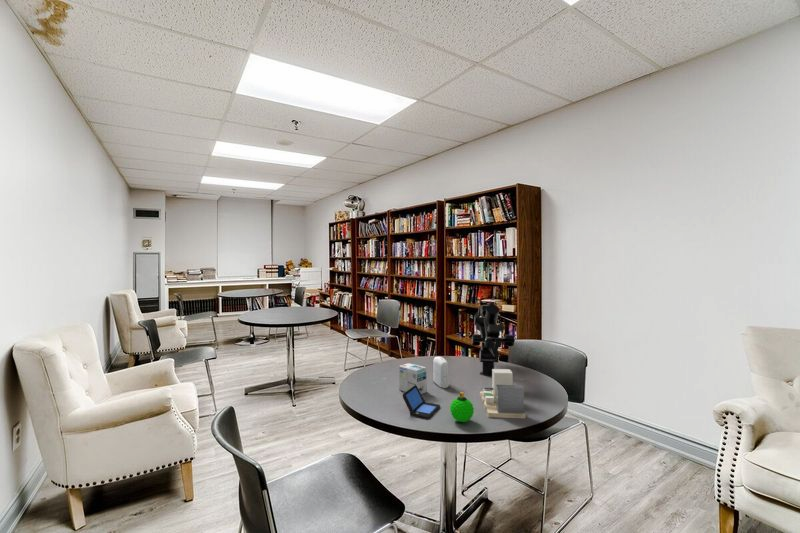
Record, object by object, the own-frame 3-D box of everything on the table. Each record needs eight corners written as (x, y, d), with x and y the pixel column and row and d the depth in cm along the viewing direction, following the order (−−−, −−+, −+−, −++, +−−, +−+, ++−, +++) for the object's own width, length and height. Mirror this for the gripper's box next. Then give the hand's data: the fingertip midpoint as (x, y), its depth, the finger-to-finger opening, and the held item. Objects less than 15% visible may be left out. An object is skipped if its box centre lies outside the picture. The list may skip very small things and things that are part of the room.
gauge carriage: (484, 393, 146) (483, 368, 146) (509, 393, 145) (509, 369, 145) (486, 400, 138) (486, 374, 138) (514, 401, 137) (514, 375, 137)
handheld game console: (429, 420, 126) (429, 399, 126) (401, 415, 131) (401, 394, 130) (441, 407, 137) (441, 388, 137) (415, 402, 142) (415, 384, 142)
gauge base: (480, 394, 149) (479, 385, 149) (511, 395, 148) (511, 386, 148) (488, 417, 128) (488, 406, 127) (525, 418, 126) (525, 407, 126)
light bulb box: (427, 392, 153) (427, 367, 153) (417, 396, 148) (417, 370, 148) (408, 386, 160) (408, 362, 160) (398, 390, 155) (398, 365, 155)
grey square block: (496, 409, 131) (496, 384, 131) (521, 410, 130) (521, 385, 130) (498, 412, 128) (497, 387, 128) (523, 413, 127) (523, 388, 127)
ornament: (445, 422, 124) (445, 393, 124) (457, 414, 130) (457, 387, 130) (466, 428, 119) (466, 398, 119) (478, 420, 125) (478, 392, 125)
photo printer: (450, 387, 158) (449, 359, 158) (441, 388, 156) (440, 360, 156) (440, 380, 167) (440, 354, 167) (432, 381, 166) (432, 355, 166)
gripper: (472, 316, 164) (475, 346, 153) (514, 317, 162) (520, 347, 151) (470, 330, 172) (473, 359, 161) (510, 331, 170) (515, 360, 159)
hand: (495, 356), depth 158 cm, fingers closed
